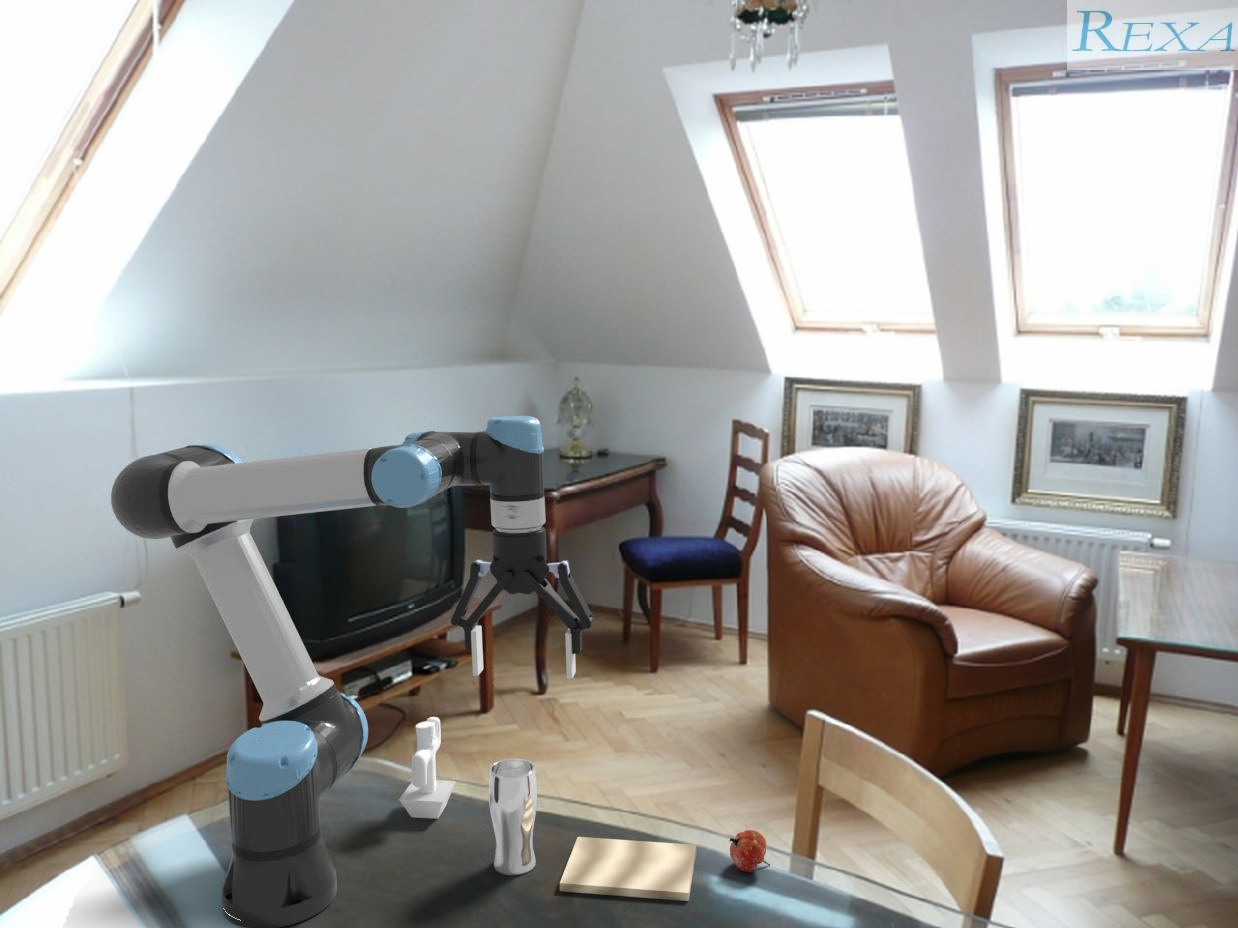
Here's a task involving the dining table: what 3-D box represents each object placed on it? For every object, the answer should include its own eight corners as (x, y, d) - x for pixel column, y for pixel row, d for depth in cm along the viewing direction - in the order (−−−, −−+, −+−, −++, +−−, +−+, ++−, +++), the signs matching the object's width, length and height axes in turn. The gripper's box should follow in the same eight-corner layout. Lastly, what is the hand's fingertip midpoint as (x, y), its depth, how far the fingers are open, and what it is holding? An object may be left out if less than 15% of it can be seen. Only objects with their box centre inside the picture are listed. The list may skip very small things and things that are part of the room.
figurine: (397, 824, 164) (393, 734, 162) (416, 796, 174) (413, 711, 171) (441, 826, 163) (438, 736, 161) (458, 799, 173) (455, 713, 170)
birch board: (559, 890, 145) (559, 882, 145) (577, 843, 158) (577, 836, 157) (688, 900, 142) (688, 892, 142) (696, 852, 155) (696, 844, 155)
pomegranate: (756, 865, 154) (715, 838, 153) (780, 839, 153) (739, 811, 152) (760, 890, 149) (718, 862, 148) (785, 863, 147) (743, 835, 146)
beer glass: (531, 879, 148) (528, 779, 146) (484, 874, 149) (481, 776, 147) (544, 854, 155) (542, 759, 152) (499, 850, 156) (496, 755, 154)
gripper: (423, 532, 143) (431, 680, 146) (602, 533, 139) (606, 685, 142) (441, 521, 150) (448, 662, 153) (611, 522, 146) (615, 667, 149)
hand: (524, 674), depth 148 cm, fingers open, 13 cm apart
